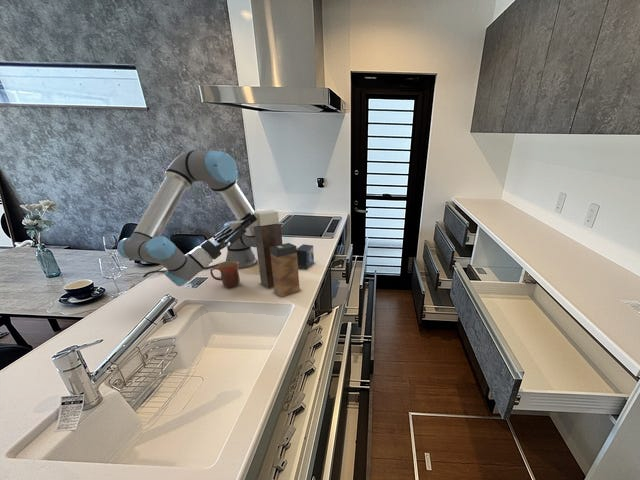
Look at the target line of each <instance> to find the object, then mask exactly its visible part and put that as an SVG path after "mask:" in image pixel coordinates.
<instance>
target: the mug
mask: <svg viewBox="0 0 640 480" xmlns="http://www.w3.org/2000/svg"><path fill="white" fill-rule="evenodd" d="M225 261H226V260H225ZM225 261H222V262H219V263H217V264H218V265H217V266H215V267H212V268H210V270H209V273H210V276H211V278H212V279H214V280H216V281H220V282H221V283H222V285H223V287H224V288H228V289H231V288H235V287H237V286H239V285H240V284H241V281H240V280H241V278H240V273H239V268H238V266H239V263H238V262H237V261H226V262H225ZM214 270H217V271H219V273H220V277H216V276H215V275H214V272H213V271H214Z"/></svg>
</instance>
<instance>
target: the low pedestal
mask: <svg viewBox="0 0 640 480" xmlns="http://www.w3.org/2000/svg"><path fill="white" fill-rule="evenodd" d="M270 255H271V264H272V273H273V282H274V287H273V289H274V293H275V294H276V295H278V296H279V297H281V298H282V297H286V296H289V295H291V294H295V293H298V292H300V291H301V289H300V277H299V276H300V275H299V269H298V261H297V253H293V254H289V255H285V256H281V257H276V256H274V255H272V254H270Z"/></svg>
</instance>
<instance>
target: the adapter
mask: <svg viewBox="0 0 640 480" xmlns="http://www.w3.org/2000/svg"><path fill="white" fill-rule="evenodd" d="M297 248H298V247H297V245H295V244H293V243H290V242H286V243H282V244H281V245H276V246H271V247H270V254H272V255H274V256H276V257H281V256H285V255H289V254H293V253H297Z"/></svg>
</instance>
